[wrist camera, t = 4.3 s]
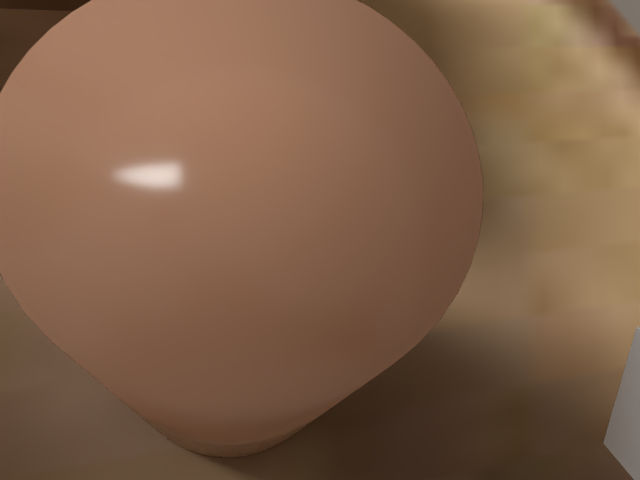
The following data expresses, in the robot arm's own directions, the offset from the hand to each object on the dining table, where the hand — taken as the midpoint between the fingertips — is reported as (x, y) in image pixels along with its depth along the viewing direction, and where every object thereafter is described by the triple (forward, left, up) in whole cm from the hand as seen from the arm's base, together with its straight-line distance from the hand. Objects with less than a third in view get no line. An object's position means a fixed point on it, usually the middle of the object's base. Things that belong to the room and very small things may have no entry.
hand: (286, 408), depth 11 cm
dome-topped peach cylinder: (-1, +3, -8) cm, 8 cm away
